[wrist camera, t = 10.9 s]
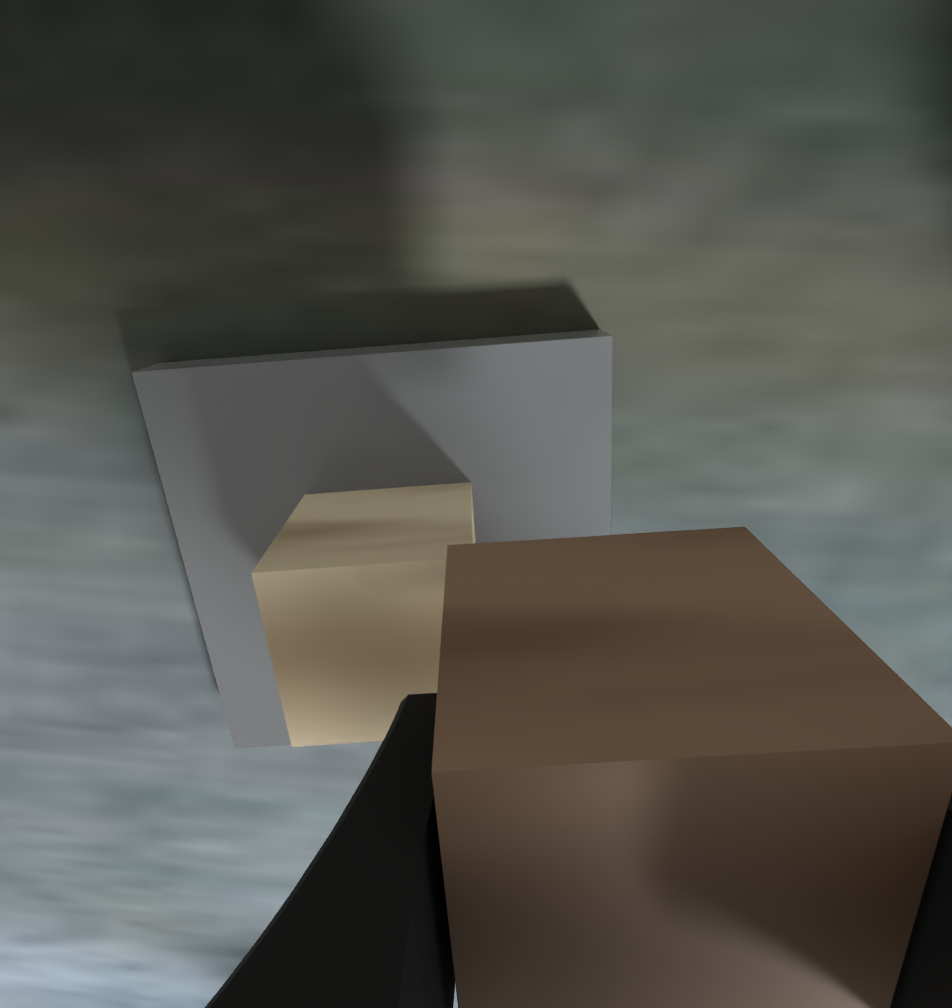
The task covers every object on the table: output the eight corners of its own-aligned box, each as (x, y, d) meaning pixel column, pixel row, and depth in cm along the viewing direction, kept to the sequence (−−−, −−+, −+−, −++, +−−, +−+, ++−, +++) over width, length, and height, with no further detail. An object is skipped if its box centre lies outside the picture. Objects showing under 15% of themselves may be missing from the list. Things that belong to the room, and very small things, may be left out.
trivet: (599, 692, 21) (609, 723, 20) (249, 716, 21) (234, 748, 20) (600, 329, 17) (612, 335, 15) (159, 362, 17) (131, 371, 16)
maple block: (483, 625, 18) (487, 733, 14) (331, 635, 18) (291, 746, 14) (471, 482, 17) (472, 557, 13) (304, 494, 17) (250, 573, 13)
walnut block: (720, 759, 11) (873, 1062, 7) (467, 773, 11) (466, 1084, 7) (744, 527, 9) (966, 742, 5) (447, 545, 9) (431, 771, 5)
